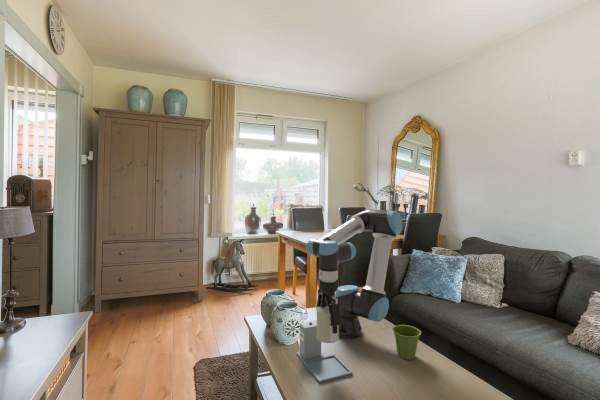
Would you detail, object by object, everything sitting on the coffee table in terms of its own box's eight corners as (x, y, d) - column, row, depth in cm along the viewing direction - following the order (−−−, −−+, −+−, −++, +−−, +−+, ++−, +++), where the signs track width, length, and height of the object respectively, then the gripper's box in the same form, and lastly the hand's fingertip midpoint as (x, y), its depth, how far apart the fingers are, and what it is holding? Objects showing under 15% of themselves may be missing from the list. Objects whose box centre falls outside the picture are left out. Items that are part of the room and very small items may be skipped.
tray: (334, 356, 137) (334, 353, 137) (352, 375, 123) (352, 372, 123) (303, 363, 131) (303, 361, 131) (319, 383, 118) (319, 380, 117)
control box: (317, 349, 143) (317, 317, 142) (324, 357, 136) (324, 324, 136) (296, 354, 139) (296, 321, 138) (303, 362, 132) (303, 328, 132)
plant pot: (424, 355, 138) (425, 330, 138) (413, 366, 130) (414, 339, 129) (399, 346, 146) (400, 322, 146) (387, 355, 138) (387, 330, 137)
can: (323, 345, 120) (324, 314, 120) (312, 335, 129) (312, 306, 128) (343, 340, 125) (344, 310, 124) (330, 330, 133) (331, 302, 132)
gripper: (308, 274, 134) (308, 326, 135) (333, 288, 114) (332, 349, 115) (324, 272, 137) (323, 323, 138) (351, 286, 117) (350, 345, 118)
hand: (327, 335), depth 127 cm, fingers closed on can, 9 cm apart
